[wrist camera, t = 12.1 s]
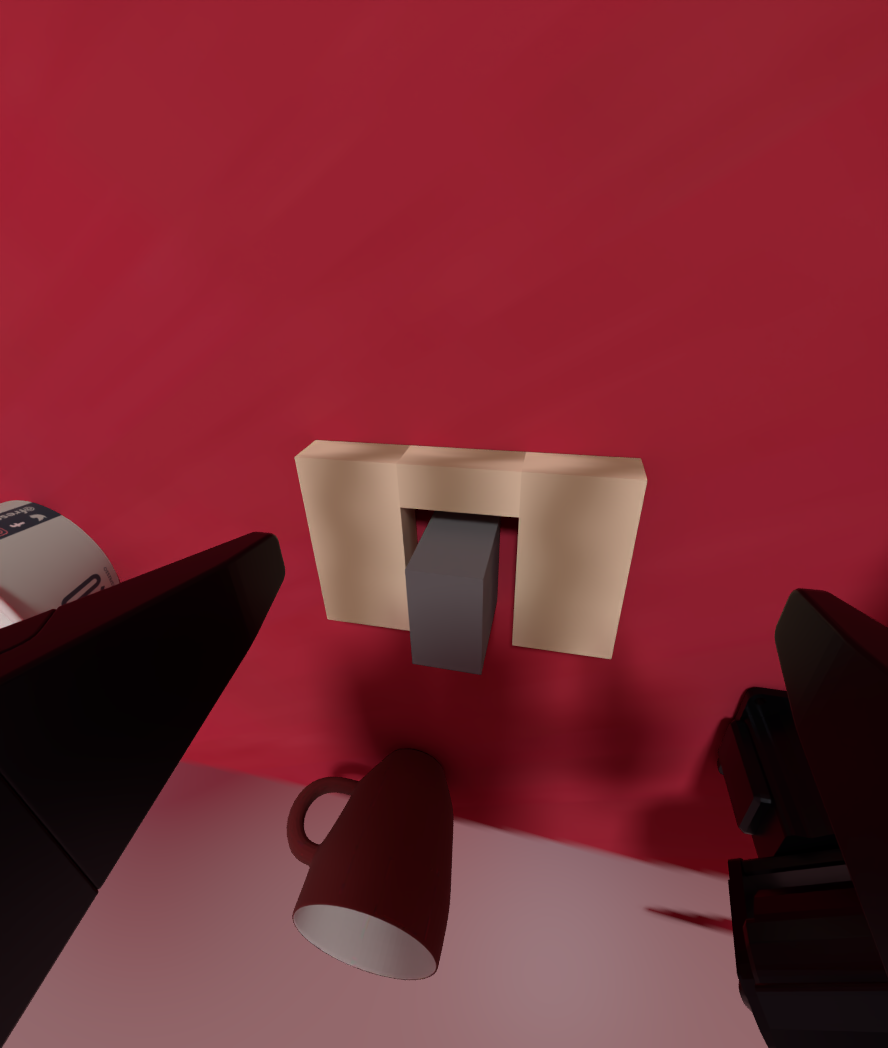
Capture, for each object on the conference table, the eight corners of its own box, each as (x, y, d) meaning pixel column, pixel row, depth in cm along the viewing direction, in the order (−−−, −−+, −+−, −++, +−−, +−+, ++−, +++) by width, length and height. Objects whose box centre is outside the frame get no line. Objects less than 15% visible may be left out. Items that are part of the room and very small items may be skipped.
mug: (330, 774, 36) (258, 934, 28) (325, 705, 32) (238, 871, 24) (466, 813, 35) (432, 995, 27) (480, 746, 31) (445, 938, 22)
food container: (-62, 459, 29) (-212, 512, 23) (116, 504, 27) (1, 572, 22) (10, 608, 35) (-94, 677, 30) (157, 651, 34) (76, 732, 28)
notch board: (640, 458, 19) (647, 480, 17) (608, 629, 24) (611, 659, 22) (315, 440, 22) (294, 457, 20) (343, 594, 27) (327, 619, 25)
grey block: (500, 513, 22) (483, 579, 18) (497, 599, 24) (480, 674, 20) (436, 507, 22) (404, 570, 18) (439, 592, 25) (412, 663, 21)
